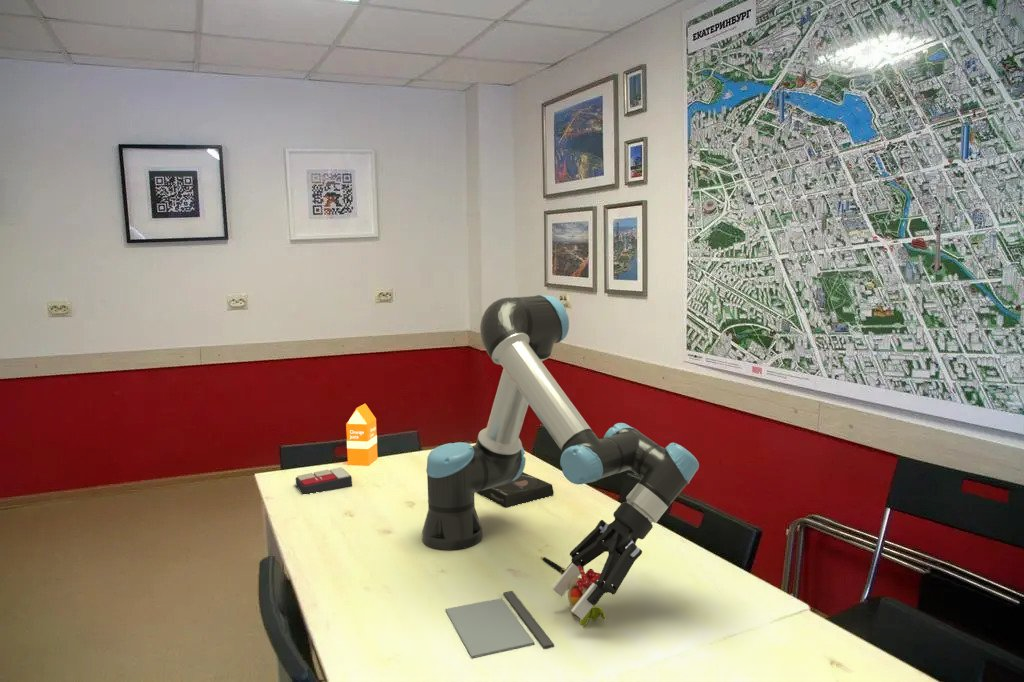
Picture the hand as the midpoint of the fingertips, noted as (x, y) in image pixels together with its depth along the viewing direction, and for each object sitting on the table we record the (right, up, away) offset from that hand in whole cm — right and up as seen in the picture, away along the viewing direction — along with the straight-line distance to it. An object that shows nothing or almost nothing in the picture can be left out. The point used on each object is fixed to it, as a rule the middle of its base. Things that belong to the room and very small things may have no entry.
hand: (566, 603), depth 135 cm
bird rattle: (+3, -4, +1) cm, 5 cm away
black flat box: (-10, +4, +74) cm, 75 cm away
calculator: (-69, +5, +85) cm, 110 cm away
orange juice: (-63, +8, +110) cm, 127 cm away
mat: (-13, -4, 0) cm, 14 cm away
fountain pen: (0, -1, +23) cm, 23 cm away
